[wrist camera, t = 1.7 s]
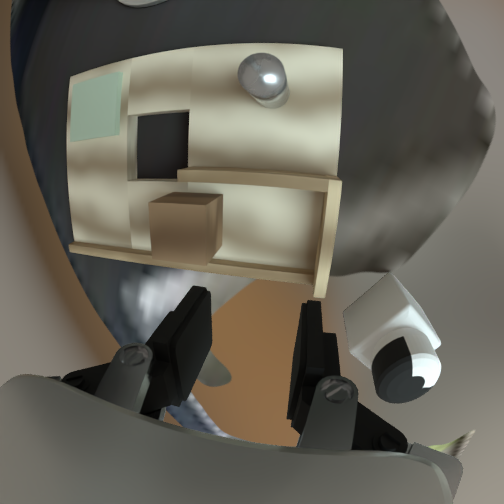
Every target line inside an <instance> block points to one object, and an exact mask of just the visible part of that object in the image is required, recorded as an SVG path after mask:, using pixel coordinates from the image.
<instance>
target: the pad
mask: <svg viewBox="0 0 504 504" xmlns="http://www.w3.org/2000/svg"><path fill="white" fill-rule="evenodd" d="M122 79H123V72H119V71H118V72H114V73H111V74H107V75H103V76H100V77H96V78H93V79H89V80H86V81H83V82H80V83H77V84H74V85H73V90H72V103H71V122H70V142H75V141H81V140H87V139H93V138H100V137H107V136H115V135H119V132H120V106H121V90H122Z"/></svg>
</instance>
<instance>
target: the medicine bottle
mask: <svg viewBox="0 0 504 504" xmlns="http://www.w3.org/2000/svg"><path fill="white" fill-rule="evenodd" d="M343 317H344V322H345V328H346V334H347V339H348V346H349V351H350V353H351V354H352V355H354V356H355V357H356V358H357V359H358V360H360V361H361V362H362V363H363V364H364V365H365V366H367V367H368V368H369V369H370V370H371V371H372V375H373V379H374V385H375V390H376V393H377V395H378V396H379V397H380V398H381V399H382V400H384V401H386V402H389V403H405V402H409V401H412V400H414V399H417V398H419V397H420V396H422V395H424V394H425V393H426V392H428V391H429V390H430V389H431V388H432V387H433V386H434V384H435V383H436V381H437V379H438V377H439V375H440V371H441V363H440V361H439V359H438V357H437V354H436V353H435V349H436V348H438V347H439V346H440V344H441V341H440V339H439V337H438V336H437V334H436V332H435V330H434V328H433V327H432V325H431V323H430V321H429V320H428V318H427V316H426V315H425V313H424V311H423V310H422V308H421V307H420V305H419V304H418V303H417V302H416V301H415V299H414V298H413V297H412V296H411V294H410V293H409V292H408V291H407V290H406V288H405V287H404V286H403V285H402V284H401V283H400V281H399V280H398V279H397V278H396V277H395V276H394V274H392V273H391V272H388V273H387V274H386V275H385V276H384V277H383V278H381V279H380V280H379V281H378V282H377V283H376V284H375V285H374V286H372V287H371V288H370V289H369V290H368V291H367V292H366V293H364V294H363V295H362V296H361V297H360V298H358V299H357V300H356V301H355V302H354V303H353V304H351V305H350V306H349V307H348V308H347V309H345V310H344V311H343Z"/></svg>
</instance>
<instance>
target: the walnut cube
mask: <svg viewBox="0 0 504 504" xmlns="http://www.w3.org/2000/svg"><path fill="white" fill-rule="evenodd" d="M148 208H149V225H150V240H151V252H152V259H155V260H162V261H170V262H177V263H185V264H193V265H201V266H207V264H208V263H209V262H210V260H211V259H212V258H213V257H214V255H215V254H216V253H217V252H218V250H219V249H220V248H221V246H222V233H223V194H211V193H192V192H172V193H169V194H167V195H165V196H162V197H160V198H157V199H155V200H153V201H150V202H148Z"/></svg>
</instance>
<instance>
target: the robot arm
mask: <svg viewBox="0 0 504 504" xmlns="http://www.w3.org/2000/svg"><path fill="white" fill-rule="evenodd" d="M118 1H119V2H121V3H123V4H124V5H127V6H129V7H136V8H139V7H148V6H152V5H156V4H159V3H161V2H164V1H166V0H118ZM211 319H212V318H211V293H210V291H207V289H206V287H200V286H192V287H191V289H190V290H189V291H188V293H187V294H186V295H185V297H184V298H183V299H182V301H181V302H180V303H179V305H178V306H177V307H176V309H175V310H174V311H170V312H169V313H168V314H167V316H166V317H165V318H164V320H163V321H162V322H161V324H160V325H159V326H158V328H157V329H156V330H155V331H154V333H153V334H152V335H151V337H150V338H149V340H148V341H147V342H146V344H145V345H144V344H140V343H131V344H127V345H125V346H123V347H121V348H120V349H119V350H118V351H117V352H116V354H115V356H114V358H113V360H112V361H111V362H110V363H106V364H102V365H98V366H94V367H90V368H86V369H82V370H77V371H74V372H71V373H69V374H67V375H65V376H64V378H63V379H61V377H60V376H53V377H44V376H39V375H32V374H23V375H18V376H15V377H13V378H11V379H10V380H8V381H7V382H6V383H5V384H3V385H2V386H1V387H0V504H453V499H454V497H455V494H456V491H457V488H458V486H459V483H460V480H461V477H462V473H463V467H462V463H461V462H460V461H459V460H458V459H457V458H455V457H453V456H450V455H447V454H445V453H442V452H439V451H436V450H434V449H431V448H428V447H426V446H423V445H421V444H418V443H416V442H414V443H413V444H410V443H408V442H407V439H406V437H405V436H404V435H403V433H401V432H400V431H399V430H398V429H396V428H395V427H393V426H392V425H390V424H389V423H387V422H386V421H384V420H383V419H382V418H380V417H379V416H378V415H376V414H375V413H373V412H372V411H370V410H369V409H368V408H366V407H365V406H363V405H362V404H361V403H359V402H358V389H357V387H356V385H355V384H354V383H353V382H352V381H351V380H349V379H347V378H345V377H342V376H341V375H340V364H339V355H338V346H337V337H336V334H335V333H325V332H323V327H322V313H321V302H320V301H312V300H308V301H307V303H302V306H301V313H300V319H299V326H298V331H297V336H296V342H295V348H294V354H293V362H292V373H291V383H290V393H289V402H288V412H287V419H290V420H292V423H291V427H293V428H294V429H295V430H296V431H297V432H298V433H299V434H300V437H299V440H298V443H297V446H296V447H286V446H277V445H268V444H261V443H255V442H248V441H242V440H237V439H231V438H226V437H221V436H217V435H212V434H208V433H203V432H199V431H195V430H191V429H187V428H184V427H180V426H177V425H173V424H169V423H166V422H163V419H164V415H165V411H166V407H167V406H170V405H174V406H178V407H179V406H180V404H181V402H182V400H183V401H186V400H187V398H188V396H189V394H190V392H191V390H192V387H193V385H194V383H195V381H196V379H197V377H198V374H199V372H200V370H201V368H202V366H203V363H204V361H205V359H206V357H207V355H208V353H209V350H210V348H211V345H212V320H211Z"/></svg>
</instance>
